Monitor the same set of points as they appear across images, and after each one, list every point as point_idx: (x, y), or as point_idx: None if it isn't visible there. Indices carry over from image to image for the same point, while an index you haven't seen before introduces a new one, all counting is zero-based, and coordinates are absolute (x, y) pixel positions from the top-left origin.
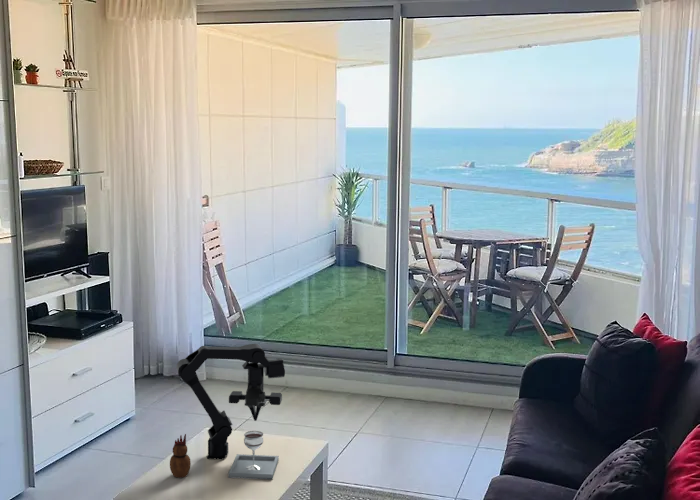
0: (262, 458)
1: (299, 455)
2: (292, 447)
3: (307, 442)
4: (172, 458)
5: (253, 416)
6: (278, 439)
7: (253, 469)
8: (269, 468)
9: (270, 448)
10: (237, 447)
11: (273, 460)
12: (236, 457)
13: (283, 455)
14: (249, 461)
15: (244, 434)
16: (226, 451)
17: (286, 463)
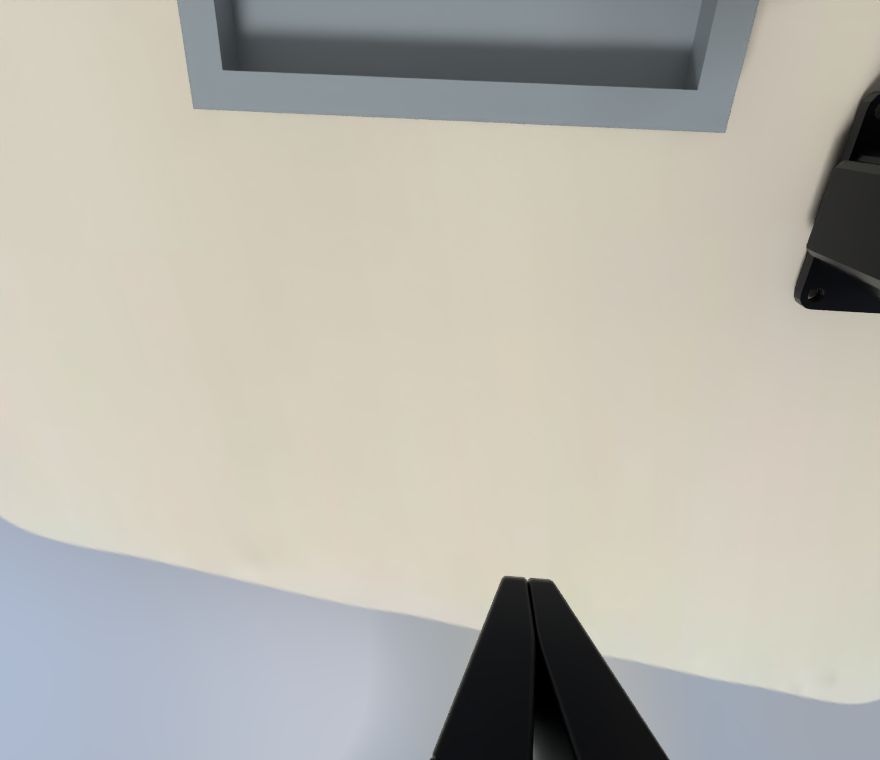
0: (391, 76)
1: (56, 258)
2: (180, 422)
3: (94, 508)
4: None
5: (586, 661)
6: (333, 554)
7: None
8: None
9: (367, 400)
10: (679, 415)
11: (259, 59)
12: (741, 13)
13: (208, 251)
14: (550, 5)
15: None
16: (876, 165)
17: (111, 31)
